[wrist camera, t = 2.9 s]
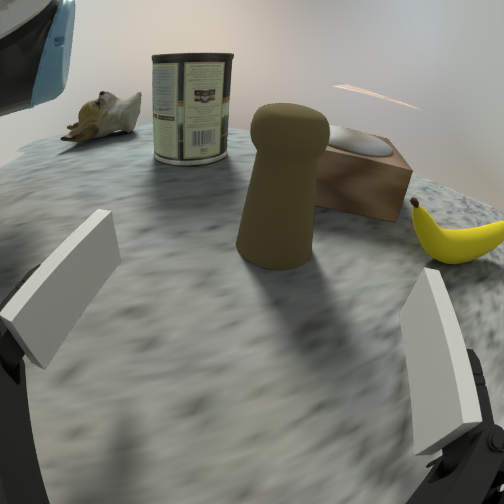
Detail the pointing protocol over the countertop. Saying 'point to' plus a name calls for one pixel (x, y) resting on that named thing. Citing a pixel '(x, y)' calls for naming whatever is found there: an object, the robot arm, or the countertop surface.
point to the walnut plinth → (361, 175)
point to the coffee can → (191, 107)
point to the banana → (454, 238)
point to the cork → (282, 186)
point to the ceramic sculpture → (105, 117)
